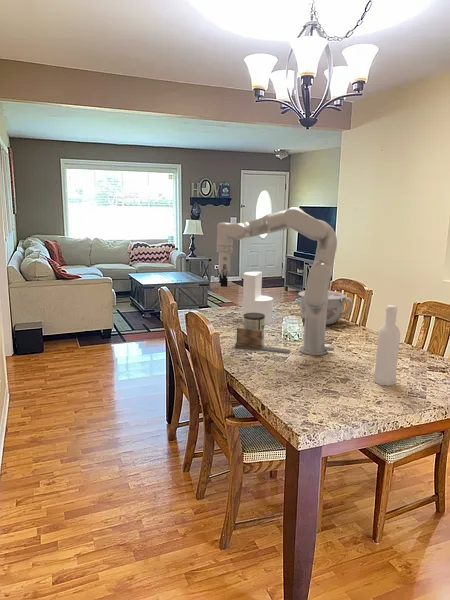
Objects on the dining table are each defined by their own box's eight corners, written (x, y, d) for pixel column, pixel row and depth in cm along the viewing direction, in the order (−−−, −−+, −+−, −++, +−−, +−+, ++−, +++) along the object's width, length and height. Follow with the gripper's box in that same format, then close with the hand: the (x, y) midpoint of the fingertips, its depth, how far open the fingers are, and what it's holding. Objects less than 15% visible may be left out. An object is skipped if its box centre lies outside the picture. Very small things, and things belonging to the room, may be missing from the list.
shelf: (261, 346, 211) (262, 329, 209) (260, 348, 208) (261, 331, 207) (237, 343, 215) (238, 327, 213) (235, 345, 212) (236, 328, 210)
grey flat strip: (290, 351, 207) (290, 349, 207) (288, 353, 204) (289, 352, 204) (237, 345, 215) (237, 343, 215) (235, 347, 212) (235, 345, 212)
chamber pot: (287, 319, 269) (289, 284, 265) (324, 315, 280) (326, 282, 276) (315, 330, 244) (317, 293, 240) (355, 326, 255) (357, 290, 251)
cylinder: (239, 323, 256) (240, 274, 251) (246, 316, 272) (247, 270, 267) (268, 326, 251) (270, 276, 246) (274, 319, 268) (276, 272, 262)
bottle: (378, 376, 178) (385, 302, 172) (398, 381, 173) (406, 305, 167) (370, 382, 172) (377, 306, 166) (391, 387, 167) (399, 309, 161)
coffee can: (243, 339, 224) (244, 312, 222) (264, 340, 224) (265, 313, 221) (242, 345, 214) (242, 317, 212) (263, 346, 213) (264, 317, 211)
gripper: (234, 251, 203) (232, 288, 207) (230, 247, 220) (229, 281, 224) (217, 250, 203) (216, 287, 206) (215, 247, 219) (214, 281, 223)
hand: (223, 284), depth 215 cm, fingers open, 9 cm apart
